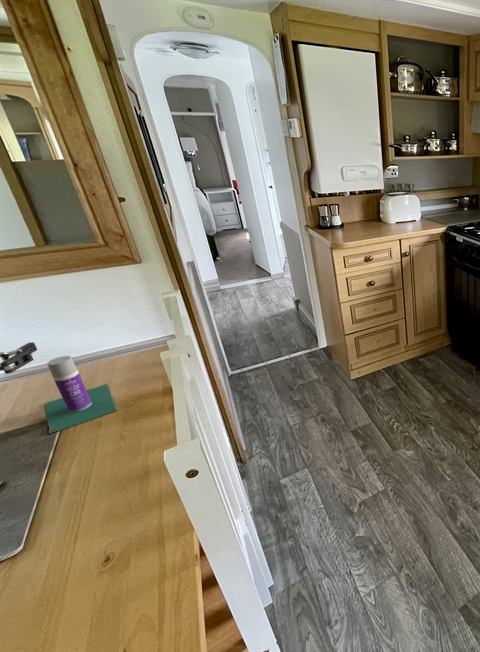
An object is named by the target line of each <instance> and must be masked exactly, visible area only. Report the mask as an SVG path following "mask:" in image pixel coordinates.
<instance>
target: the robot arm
mask: <svg viewBox="0 0 480 652" xmlns="http://www.w3.org/2000/svg"><path fill="white" fill-rule="evenodd" d="M36 351H38V347H37V345H36V344H35V342H32V341H31V342H27V343H26V344H23V345H22V346H20V347H19V348H17V349H15V350H12V351H9V352H3V351H1V352H0V358H1V360H2V362H0V371H2V372H4V374H6V375H8V374H11V373H13V372H16V371H18V370H19V369H21V368H22V367H24V366H25V365H27V364H30V362H33V361H34V357H33V355H32V354H34V353H35V352H36Z"/></svg>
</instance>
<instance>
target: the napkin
mask: <svg viewBox="0 0 480 652" xmlns="http://www.w3.org/2000/svg"><path fill="white" fill-rule="evenodd" d="M86 391H87V393H88V396H89V398H90V400H91V403H92V404H91V405H90V406H89V407H88V408H86V409H84V410H81V411H77V412H69V410H68V408H67V406H66V404H65V402H64V400H63V398H62V397H61V398H58V399H53V400H51V401H48V402H45V413H46V421H47V427H48V426H52V427H54V429H53V430H54V431H55V432H56V431H58V432H62V431H64V430H67V429H70V428H73V427H75V426H78V425H81V424H84V423H86V422H89V421H92V420H95V419H97V418H100V417H103V416H104V417H105V416H107V415H109V414H112V413H115V412H117V407H116V405H115V402H114V400H113V397H112V394H111V390H110V388H109V385H108V383H106V384H101V385H99V386H96V387H92V388H88V389H86ZM56 433H57V432H56Z"/></svg>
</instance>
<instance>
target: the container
mask: <svg viewBox="0 0 480 652" xmlns="http://www.w3.org/2000/svg"><path fill="white" fill-rule="evenodd" d="M46 364H47V366H48V369H49V371H50V374H51V376H52V379H53V381H54V383H55V385H56V387H57V389H58V391H59V394H60V395H61V398H63V400H64V402H65V404H66V406H67V408H68V410H69V412H77V411H81V410H84V409H86V408H88V407H89V406H90V405H91V404H92V403H91V400H90V398H89V396H88V393H87V391H86V390H87V389H86V386H85V385H84V382H83V379H82V377H81V375H80V373H79V371H78V368H77V366H76V364H75V362H74V361H73V358H72V356H70V355H64V356H58V357H55V358H53V359H50V360H48V362H46Z"/></svg>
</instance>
